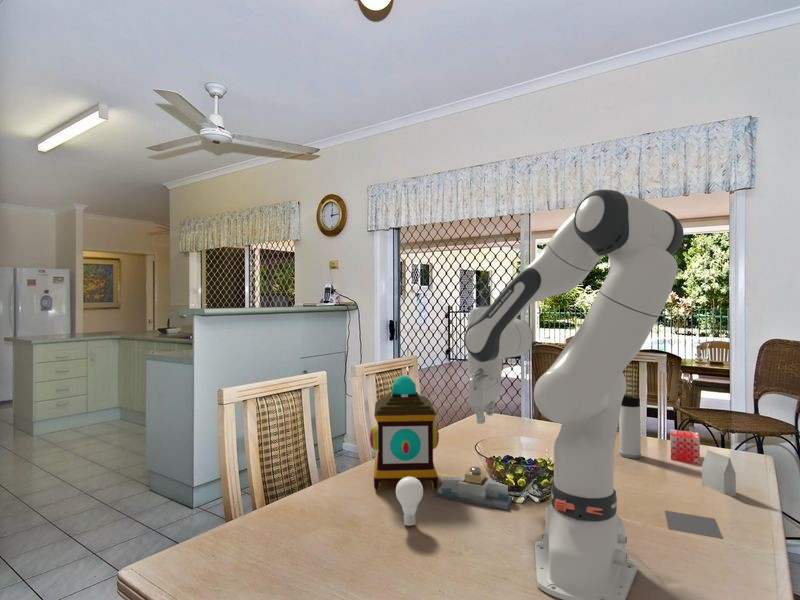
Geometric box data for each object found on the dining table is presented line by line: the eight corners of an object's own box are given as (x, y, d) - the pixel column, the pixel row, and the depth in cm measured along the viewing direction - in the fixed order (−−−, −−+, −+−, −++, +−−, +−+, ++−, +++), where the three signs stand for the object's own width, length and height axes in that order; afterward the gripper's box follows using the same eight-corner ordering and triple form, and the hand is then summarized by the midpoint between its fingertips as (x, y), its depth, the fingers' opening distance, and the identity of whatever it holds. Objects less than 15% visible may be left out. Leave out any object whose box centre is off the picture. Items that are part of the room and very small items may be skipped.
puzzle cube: (699, 463, 145) (699, 438, 145) (670, 459, 149) (670, 435, 149) (698, 456, 152) (697, 432, 152) (670, 452, 156) (670, 429, 156)
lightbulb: (400, 534, 102) (399, 484, 102) (392, 521, 108) (392, 473, 108) (427, 530, 104) (427, 480, 104) (418, 517, 110) (418, 471, 110)
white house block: (724, 497, 120) (723, 458, 120) (702, 487, 127) (701, 450, 127) (735, 496, 121) (735, 457, 121) (713, 486, 127) (713, 449, 127)
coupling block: (481, 496, 119) (481, 472, 119) (464, 493, 121) (464, 470, 121) (485, 489, 123) (485, 467, 123) (469, 487, 125) (469, 464, 125)
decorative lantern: (369, 493, 124) (368, 381, 124) (371, 467, 144) (370, 370, 144) (443, 492, 124) (442, 380, 125) (435, 466, 144) (434, 369, 144)
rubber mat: (723, 542, 97) (723, 538, 97) (668, 532, 102) (668, 528, 102) (714, 522, 106) (714, 518, 106) (664, 513, 111) (664, 510, 111)
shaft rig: (507, 510, 113) (507, 492, 113) (434, 496, 121) (434, 480, 121) (515, 495, 122) (515, 478, 122) (447, 483, 130) (447, 467, 130)
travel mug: (614, 454, 154) (613, 394, 154) (628, 451, 157) (627, 392, 157) (631, 460, 148) (630, 397, 148) (645, 457, 151) (644, 395, 151)
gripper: (486, 372, 112) (487, 429, 112) (504, 362, 131) (505, 411, 131) (461, 371, 115) (462, 427, 115) (482, 362, 133) (483, 410, 133)
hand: (485, 419), depth 123 cm, fingers open, 8 cm apart
